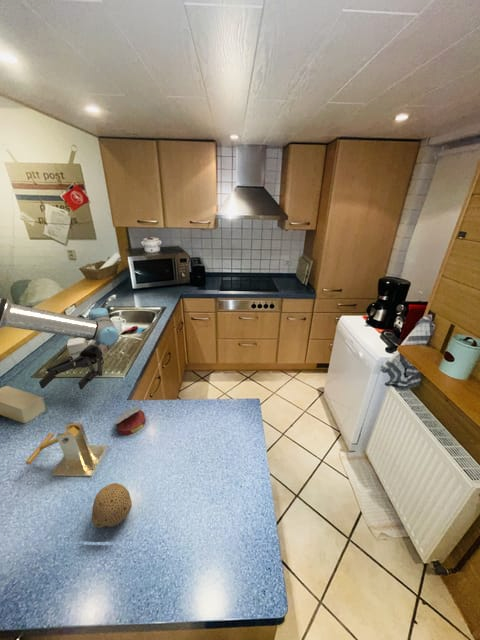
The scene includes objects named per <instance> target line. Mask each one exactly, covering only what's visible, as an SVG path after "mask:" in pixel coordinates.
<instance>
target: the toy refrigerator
mask: <svg viewBox="0 0 480 640" xmlns="http://www.w3.org/2000/svg"><path fill="white" fill-rule="evenodd" d="M45 411H47V409H46V403H45V399H44V397H43V396H40V395H36V394H34V393H30V392H27V391H25V390H21V389H18V388H15V387H12V386H8V385H5V386H2V387H0V415H1V416H3V417H6V418H8V419H11V420H14V421H17V422H19V423H22V424H25V425H26V424H27V423H29V422H31V421H32V420H33V419H35V418H36V417H38V416H39V415H40V414H42V413H43V412H45Z"/></svg>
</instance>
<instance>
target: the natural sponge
mask: <svg viewBox="0 0 480 640" xmlns="http://www.w3.org/2000/svg"><path fill="white" fill-rule="evenodd" d="M130 494H131V493H130V492H129V490H128V489H127V488H126V486H125V485H123V484H121V483H117V482H114V483H113V482H112V483H110V484H108V485H105V486H104V487H102V488H101V489H100V490H99V491H98V492H97V494H96V495H95V498H94V500H93V503H92V510H91V523H92V525H93V526H94V527H96V528H104V527H108V528H109V527H111V528H112V527H115V526H118V525H119V524H121V523H122V522H123V521H124V520H125V519H126V518H127V517H128V515H129V514H130V512H131V510H132V506H133V505H132V504H133V502H132V499H131V495H130Z"/></svg>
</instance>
